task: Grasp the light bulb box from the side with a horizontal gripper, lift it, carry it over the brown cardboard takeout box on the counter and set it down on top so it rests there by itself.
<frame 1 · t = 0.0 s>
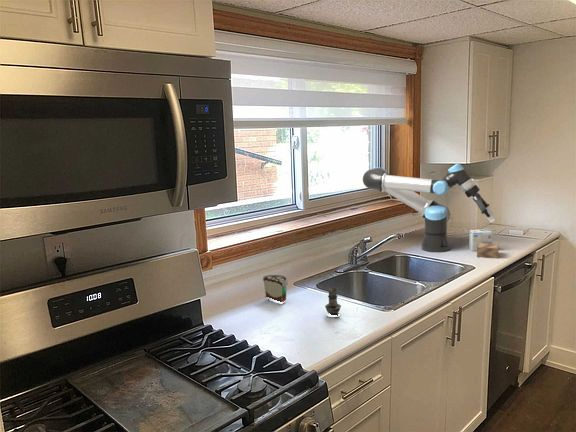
hand: (493, 219, 258), 15 cm above the worktop, tool tilted 35°, fingers open, 13 cm apart
food container: (279, 300, 192), on the worktop
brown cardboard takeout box: (487, 255, 243), on the worktop
light bulb box: (480, 250, 255), on the worktop
dark grey tall piece: (333, 315, 174), on the worktop
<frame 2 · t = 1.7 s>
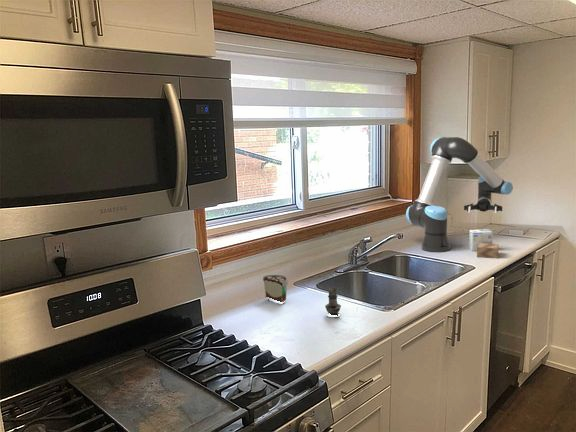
hand: (482, 210, 260), 20 cm above the worktop, tool horizontal, fingers open, 13 cm apart
nothing on the worktop moved.
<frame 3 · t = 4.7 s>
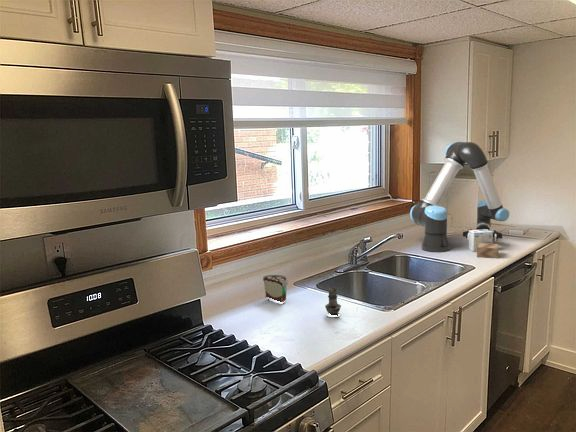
hand: (481, 238, 253), 6 cm above the worktop, tool horizontal, fingers open, 13 cm apart
light bulb box: (480, 250, 254), on the worktop, touching gripper
everything else where it was.
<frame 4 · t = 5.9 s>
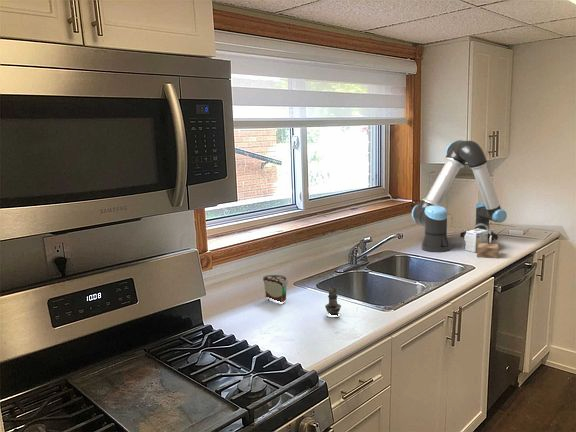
hand: (477, 239, 251), 7 cm above the worktop, tool horizontal, fingers open, 12 cm apart
light bulb box: (476, 250, 255), on the worktop, touching gripper, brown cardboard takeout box
everything else where it was.
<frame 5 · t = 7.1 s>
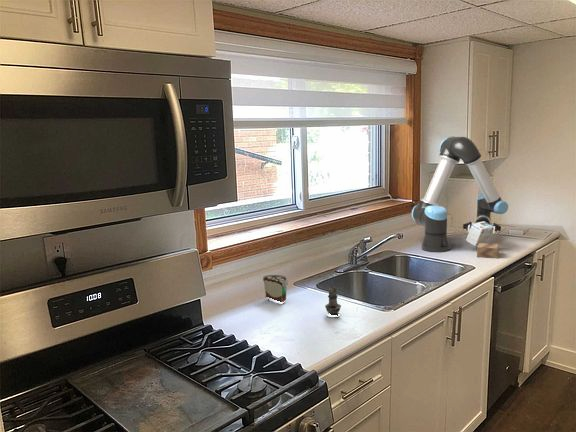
hand: (481, 230, 250), 12 cm above the worktop, tool horizontal, fingers closed on light bulb box, 12 cm apart
light bulb box: (476, 242, 255), point 4 cm above the worktop, touching gripper
everything else where it was.
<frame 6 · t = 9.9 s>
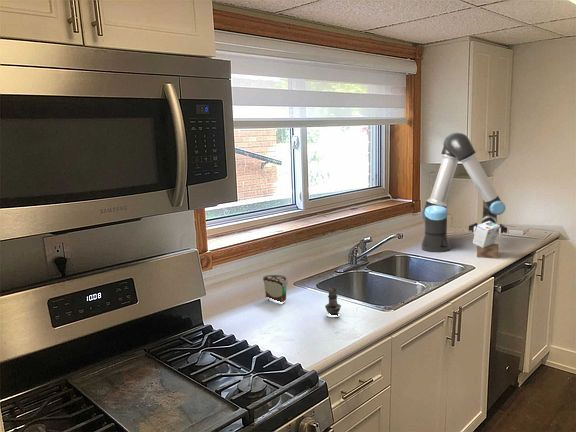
hand: (486, 232, 238), 13 cm above the worktop, tool horizontal, fingers closed on light bulb box, 11 cm apart
light bulb box: (483, 243, 243), point 6 cm above the worktop, touching gripper, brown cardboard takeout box
everything else where it was.
when the fingers open (13 cm above the worktop, at t = 10.2 s): light bulb box drops 1 cm, resting on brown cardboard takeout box.
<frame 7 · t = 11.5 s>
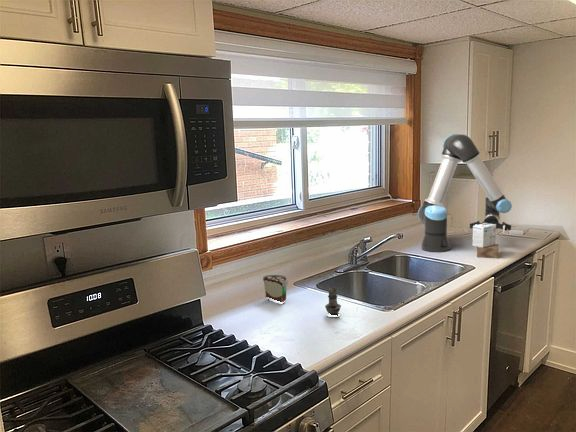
hand: (489, 229, 242), 13 cm above the worktop, tool horizontal, fingers open, 13 cm apart
light bulb box: (483, 245, 244), point 5 cm above the worktop, touching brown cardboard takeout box
everything else where it was.
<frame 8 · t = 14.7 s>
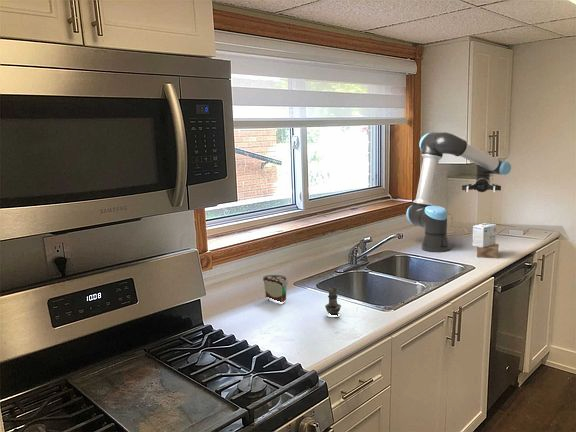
hand: (480, 189, 256), 32 cm above the worktop, tool horizontal, fingers open, 13 cm apart
nothing on the worktop moved.
at the end: light bulb box inside the target area on the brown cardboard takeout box (2.0 cm from its centre), point 5.0 cm above the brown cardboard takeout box's base; light bulb box tilted 0°; the gripper is holding nothing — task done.
